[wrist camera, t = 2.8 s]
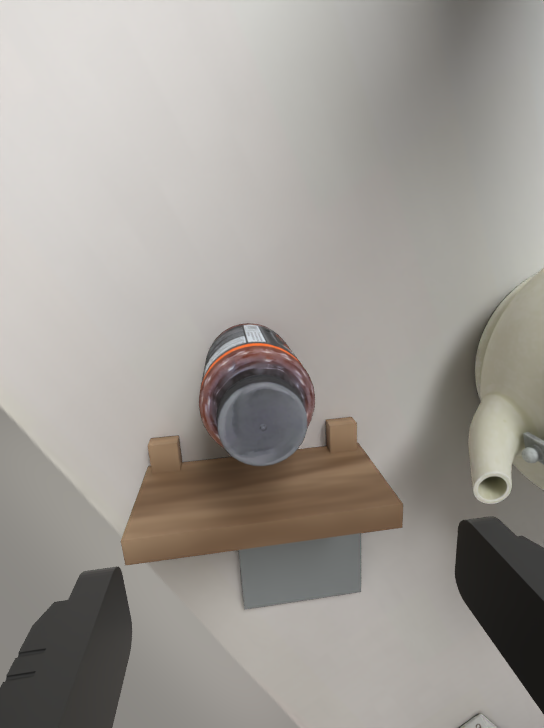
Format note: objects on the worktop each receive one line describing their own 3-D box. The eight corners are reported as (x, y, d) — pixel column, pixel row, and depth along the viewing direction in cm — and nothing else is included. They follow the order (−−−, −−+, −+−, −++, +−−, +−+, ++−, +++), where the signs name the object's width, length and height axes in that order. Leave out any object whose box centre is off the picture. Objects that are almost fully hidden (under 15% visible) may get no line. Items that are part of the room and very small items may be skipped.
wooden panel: (143, 439, 28) (114, 506, 21) (357, 416, 30) (404, 470, 22) (155, 510, 30) (131, 597, 22) (358, 485, 32) (401, 558, 24)
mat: (233, 500, 31) (233, 505, 30) (358, 485, 32) (360, 489, 31) (244, 603, 33) (244, 609, 33) (358, 586, 34) (360, 591, 34)
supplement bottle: (302, 380, 29) (350, 454, 18) (229, 415, 29) (232, 510, 18) (268, 306, 27) (298, 338, 16) (190, 343, 27) (168, 400, 16)
